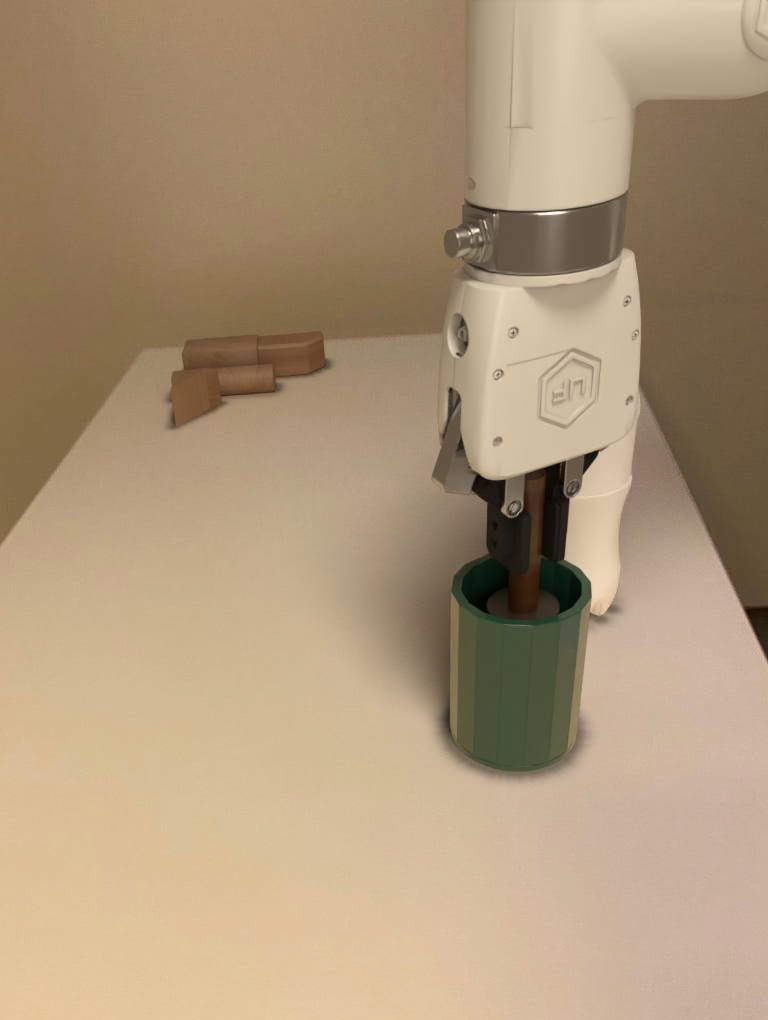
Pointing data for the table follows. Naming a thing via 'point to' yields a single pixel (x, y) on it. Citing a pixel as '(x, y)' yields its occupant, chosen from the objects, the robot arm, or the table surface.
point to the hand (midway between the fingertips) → (525, 556)
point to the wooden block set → (239, 368)
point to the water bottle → (601, 519)
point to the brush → (524, 590)
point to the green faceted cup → (517, 668)
